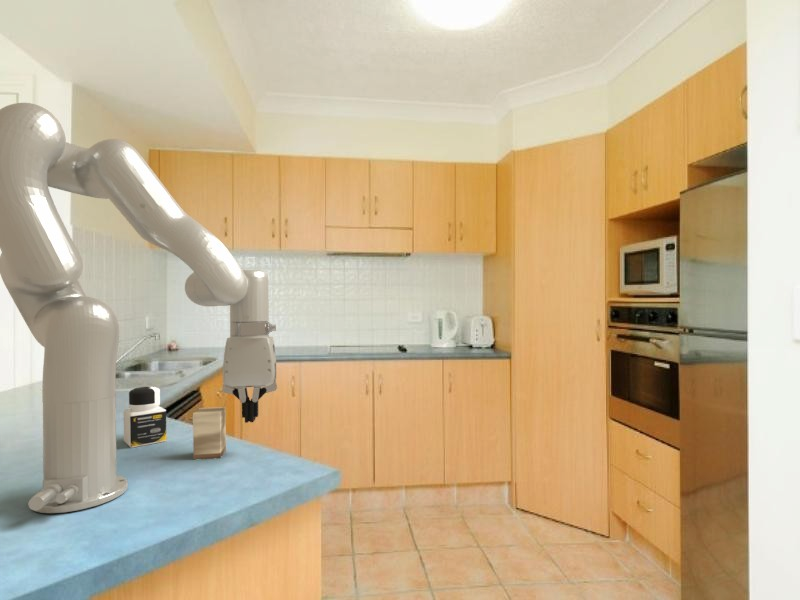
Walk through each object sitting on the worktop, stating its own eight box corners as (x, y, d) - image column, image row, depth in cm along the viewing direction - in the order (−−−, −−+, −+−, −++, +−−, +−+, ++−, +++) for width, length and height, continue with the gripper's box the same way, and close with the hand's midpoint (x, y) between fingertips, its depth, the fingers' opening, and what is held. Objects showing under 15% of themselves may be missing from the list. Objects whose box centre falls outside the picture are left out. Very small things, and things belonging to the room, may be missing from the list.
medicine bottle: (130, 448, 98) (129, 392, 99) (123, 441, 104) (122, 387, 104) (166, 441, 103) (166, 387, 103) (158, 435, 108) (157, 383, 109)
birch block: (220, 458, 91) (219, 412, 91) (193, 459, 90) (192, 413, 90) (225, 450, 96) (225, 406, 96) (200, 451, 95) (200, 408, 95)
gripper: (288, 329, 99) (289, 415, 99) (216, 330, 97) (216, 418, 97) (285, 330, 92) (286, 423, 92) (206, 332, 90) (206, 427, 90)
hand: (250, 420), depth 94 cm, fingers closed
